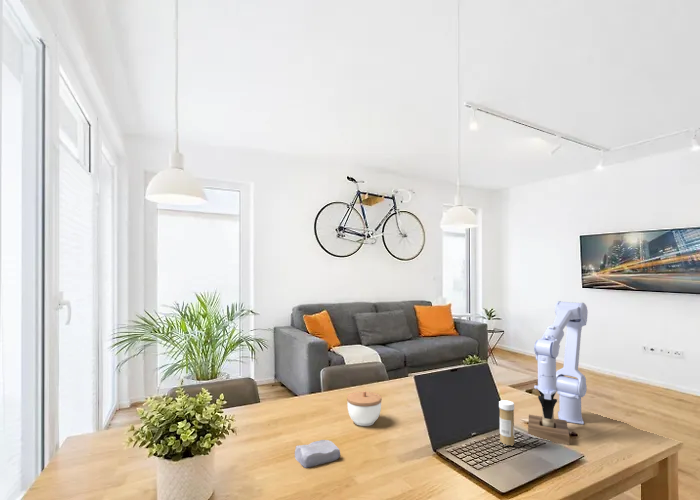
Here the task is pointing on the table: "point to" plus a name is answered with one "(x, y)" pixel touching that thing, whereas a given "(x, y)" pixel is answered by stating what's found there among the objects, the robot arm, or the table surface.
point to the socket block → (549, 430)
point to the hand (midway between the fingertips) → (547, 414)
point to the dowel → (548, 421)
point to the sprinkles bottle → (506, 422)
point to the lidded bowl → (364, 407)
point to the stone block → (316, 453)
